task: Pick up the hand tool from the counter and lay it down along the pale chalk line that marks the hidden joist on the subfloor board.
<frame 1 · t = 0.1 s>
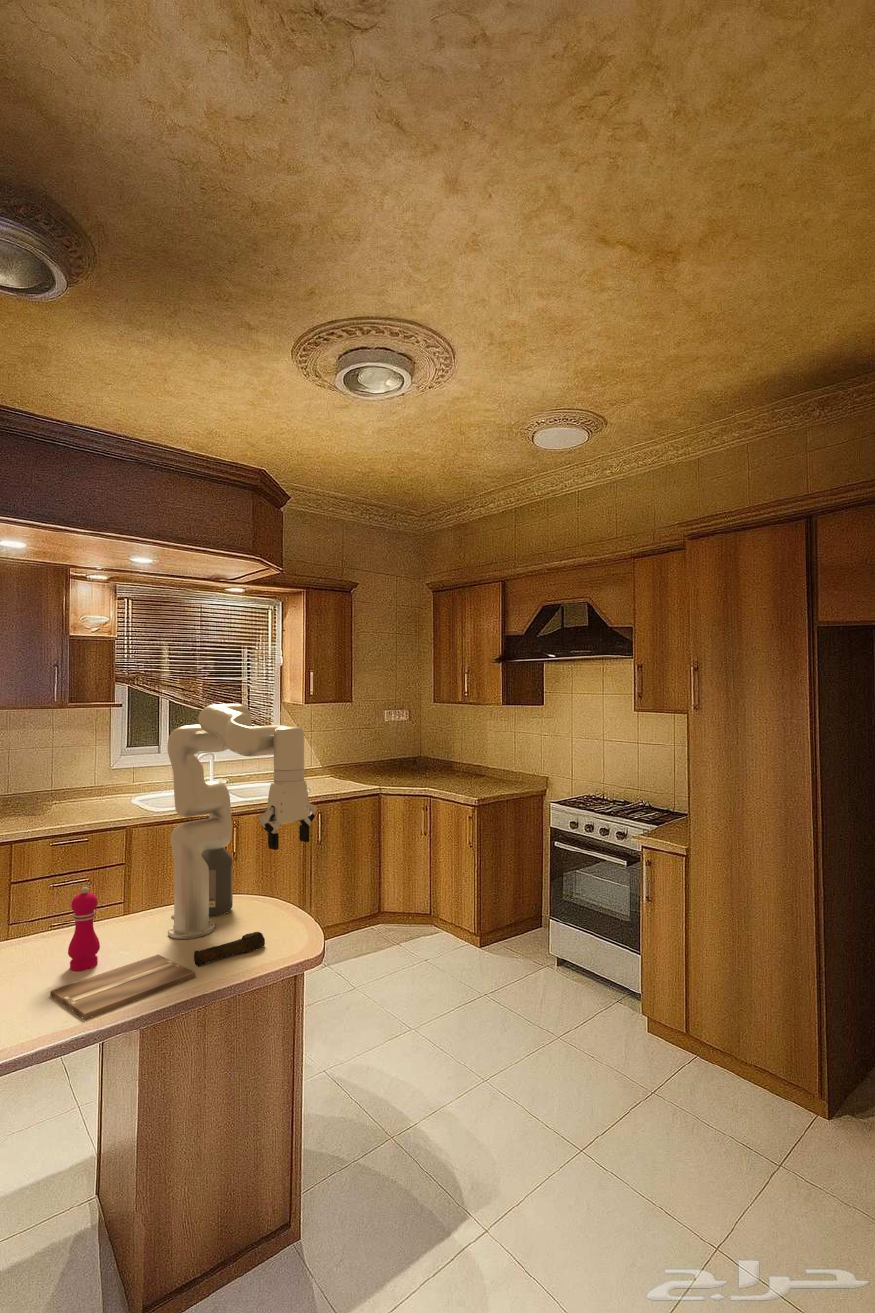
hand: (289, 845, 165), 31 cm above the worktop, tool pointing down, fingers open, 9 cm apart
pepper mill: (83, 967, 169), on the worktop
subfloor board: (125, 986, 157), on the worktop
hand tool: (230, 957, 175), on the worktop
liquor: (215, 912, 209), on the worktop
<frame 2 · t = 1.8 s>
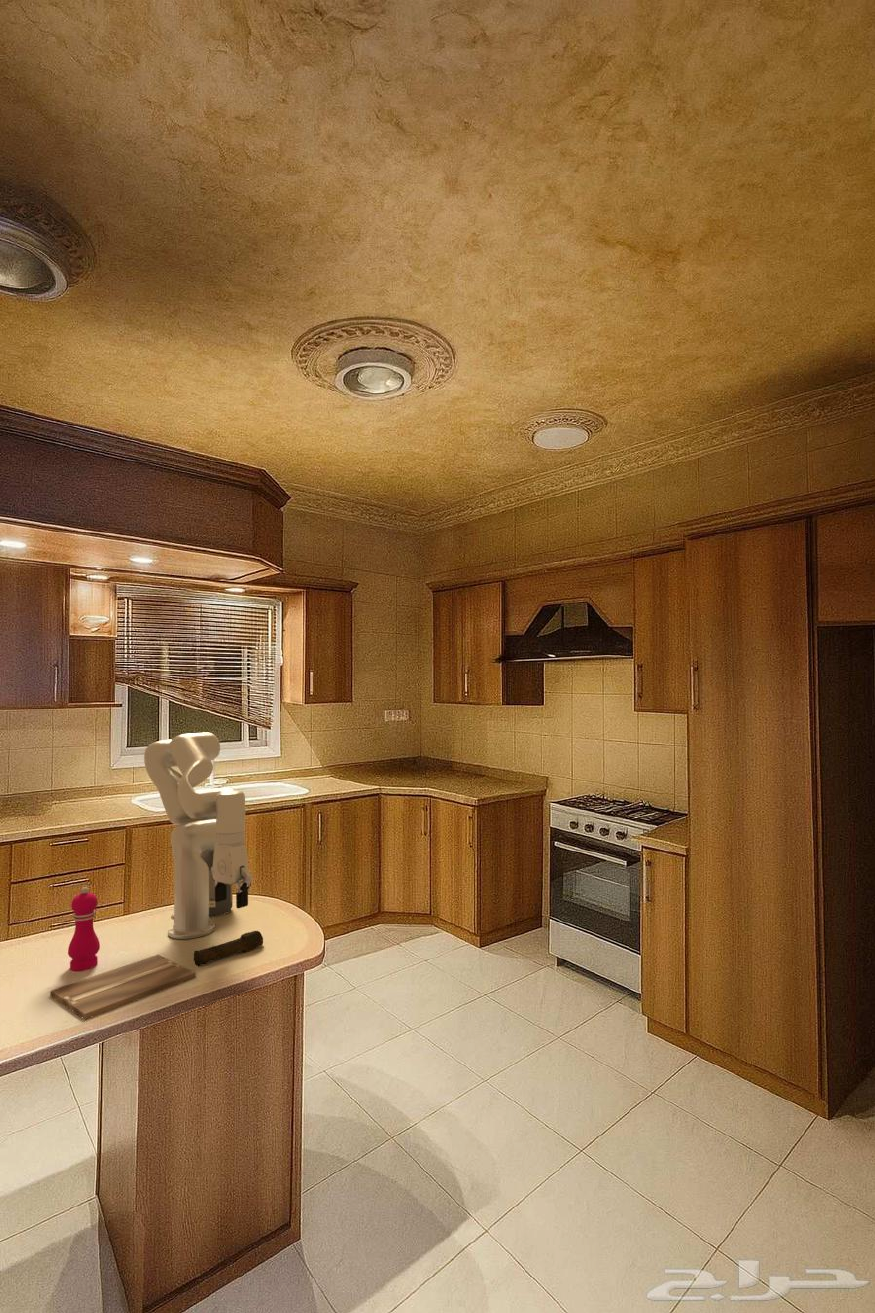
hand: (231, 903, 175), 14 cm above the worktop, tool pointing down, fingers open, 9 cm apart
nothing on the worktop moved.
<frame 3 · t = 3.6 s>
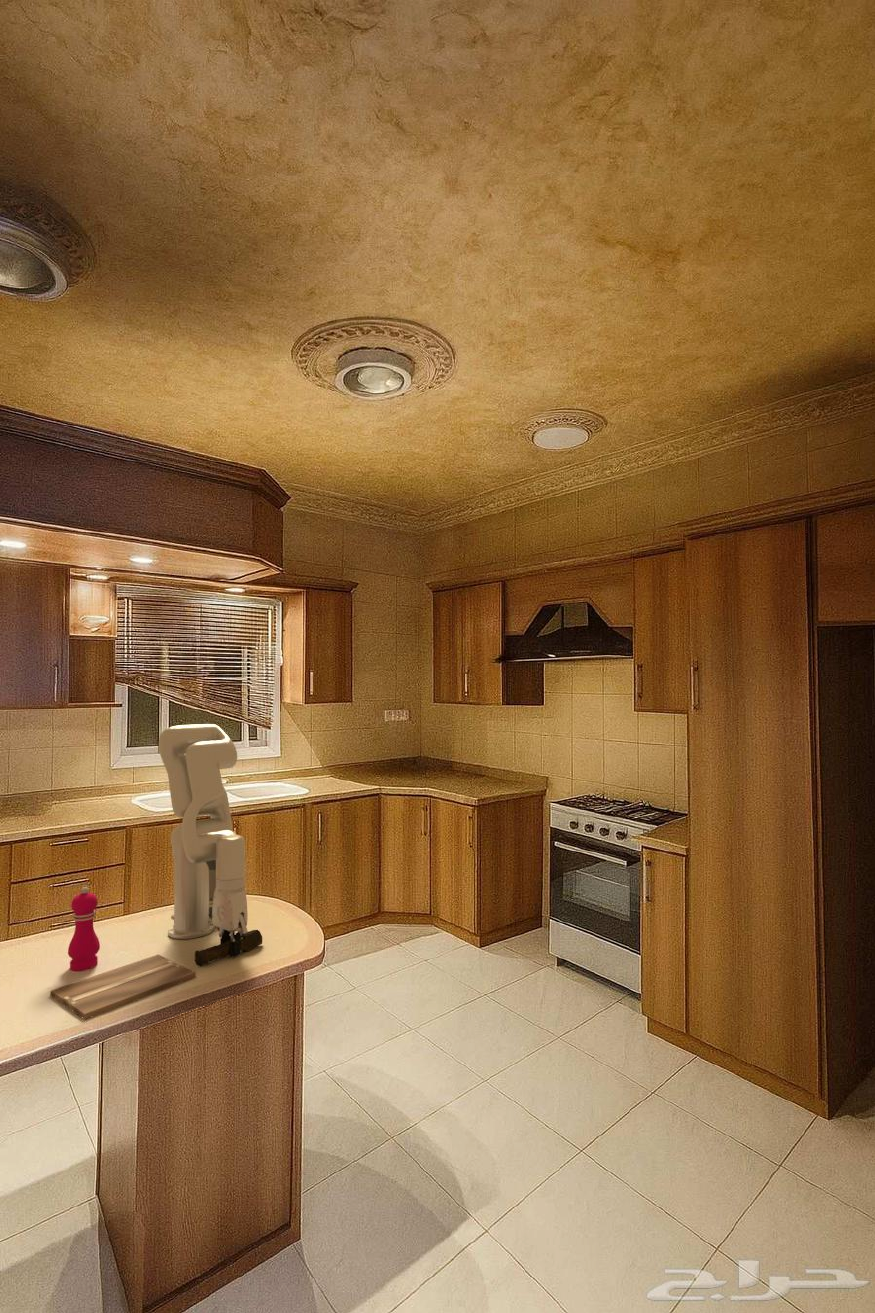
hand: (230, 953, 175), 1 cm above the worktop, tool pointing down, fingers closed on hand tool, 3 cm apart
hand tool: (229, 955, 175), on the worktop, touching gripper
everything else where it was.
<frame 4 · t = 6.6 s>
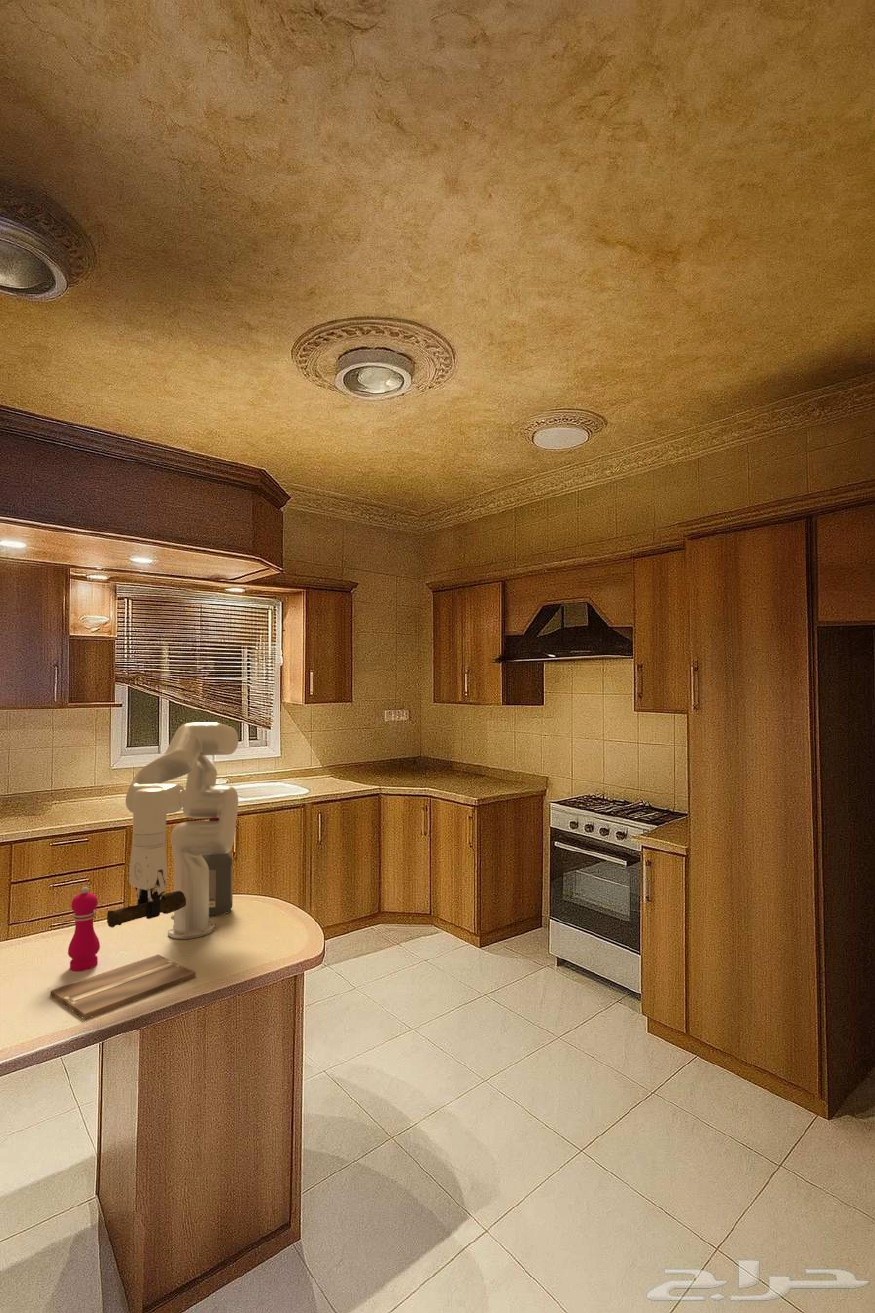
hand: (148, 915, 161), 16 cm above the worktop, tool pointing down, fingers closed on hand tool, 3 cm apart
hand tool: (147, 917, 161), point 15 cm above the worktop, touching gripper
everything else where it was.
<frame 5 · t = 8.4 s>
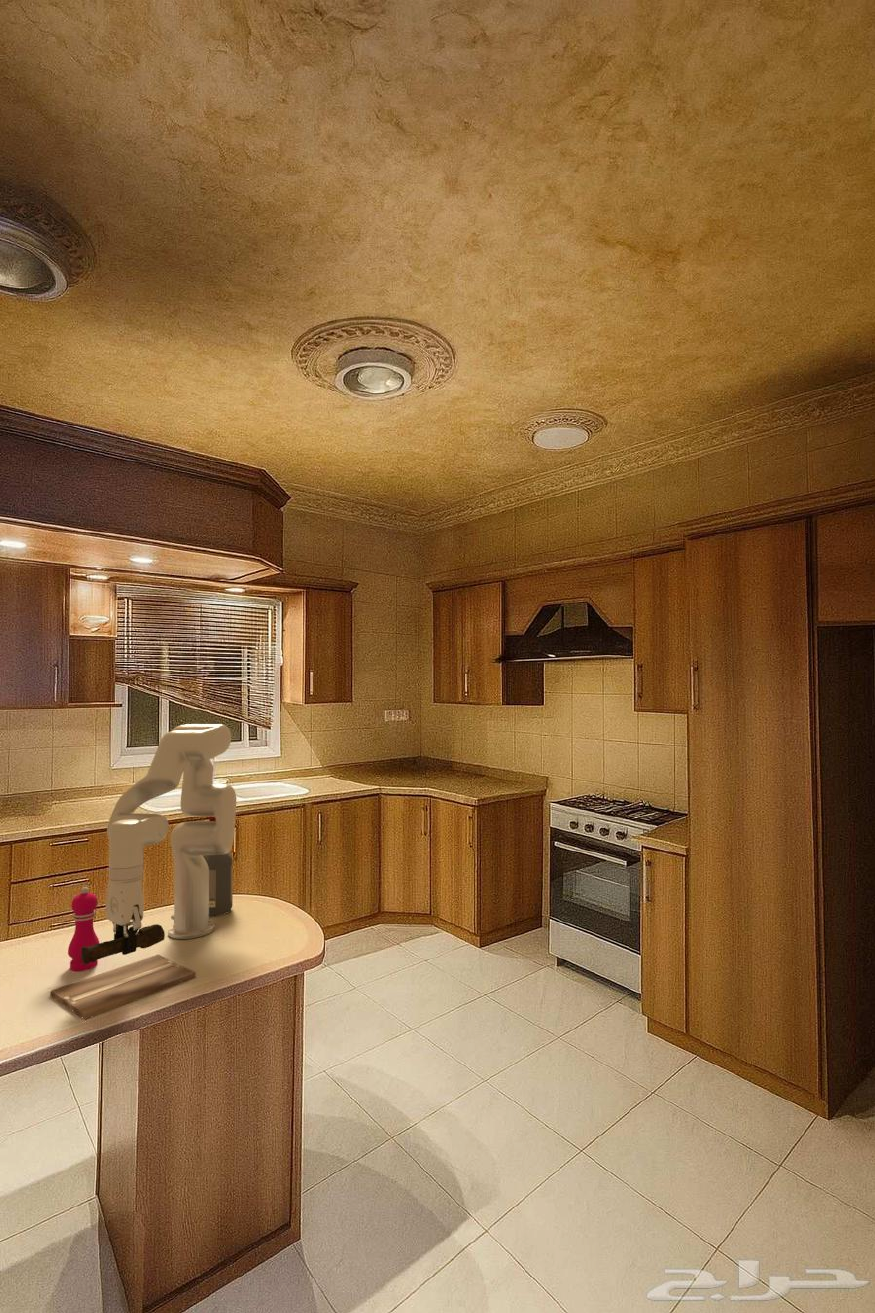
hand: (125, 950, 157), 9 cm above the worktop, tool pointing down, fingers closed on hand tool, 3 cm apart
hand tool: (124, 953, 158), point 8 cm above the worktop, touching gripper
everything else where it was.
when the fingers open (3 cm above the worktop, at t = 10.0 s): hand tool drops 1 cm, resting on subfloor board.
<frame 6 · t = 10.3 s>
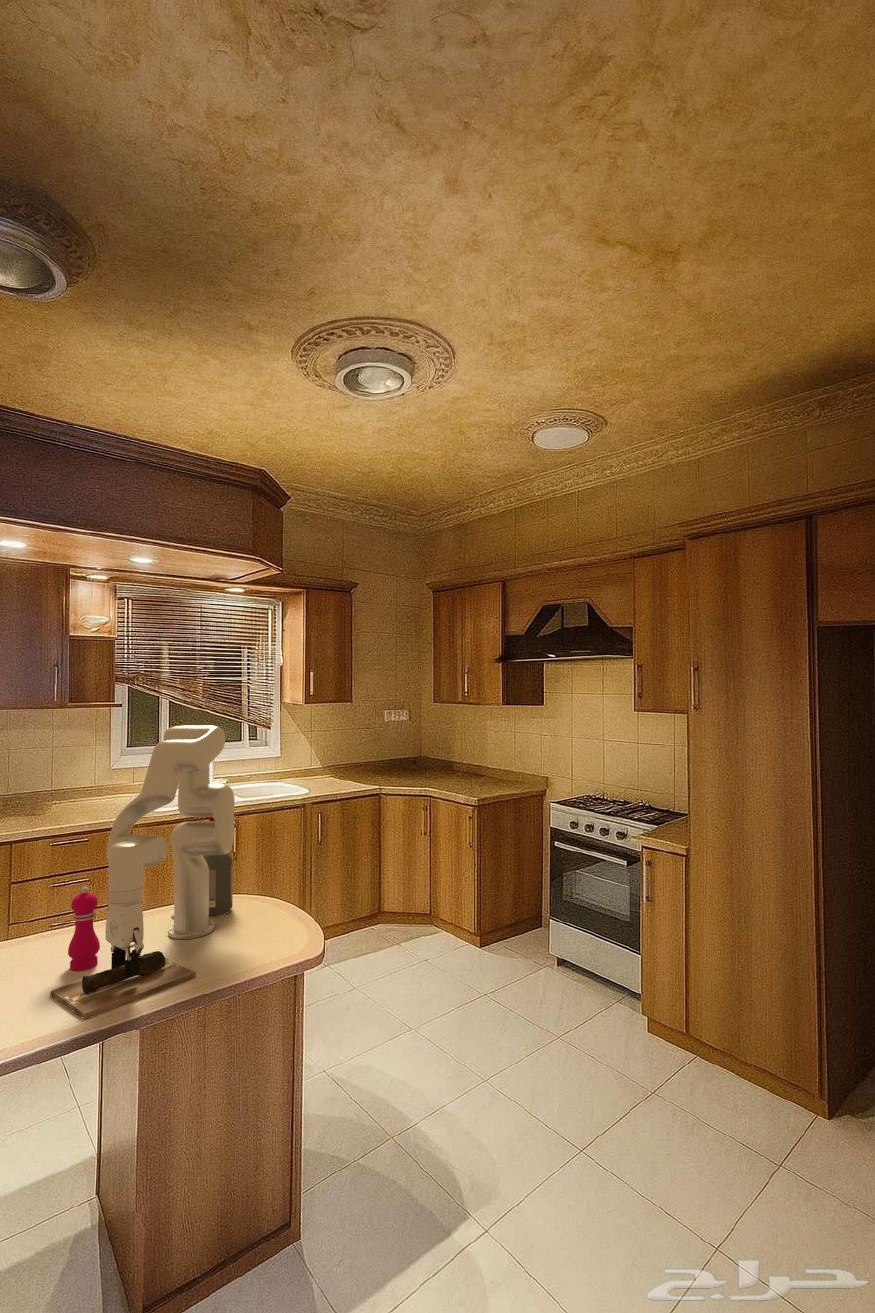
hand: (125, 971, 157), 4 cm above the worktop, tool pointing down, fingers open, 6 cm apart
hand tool: (124, 980, 158), point 1 cm above the worktop, touching subfloor board
everything else where it was.
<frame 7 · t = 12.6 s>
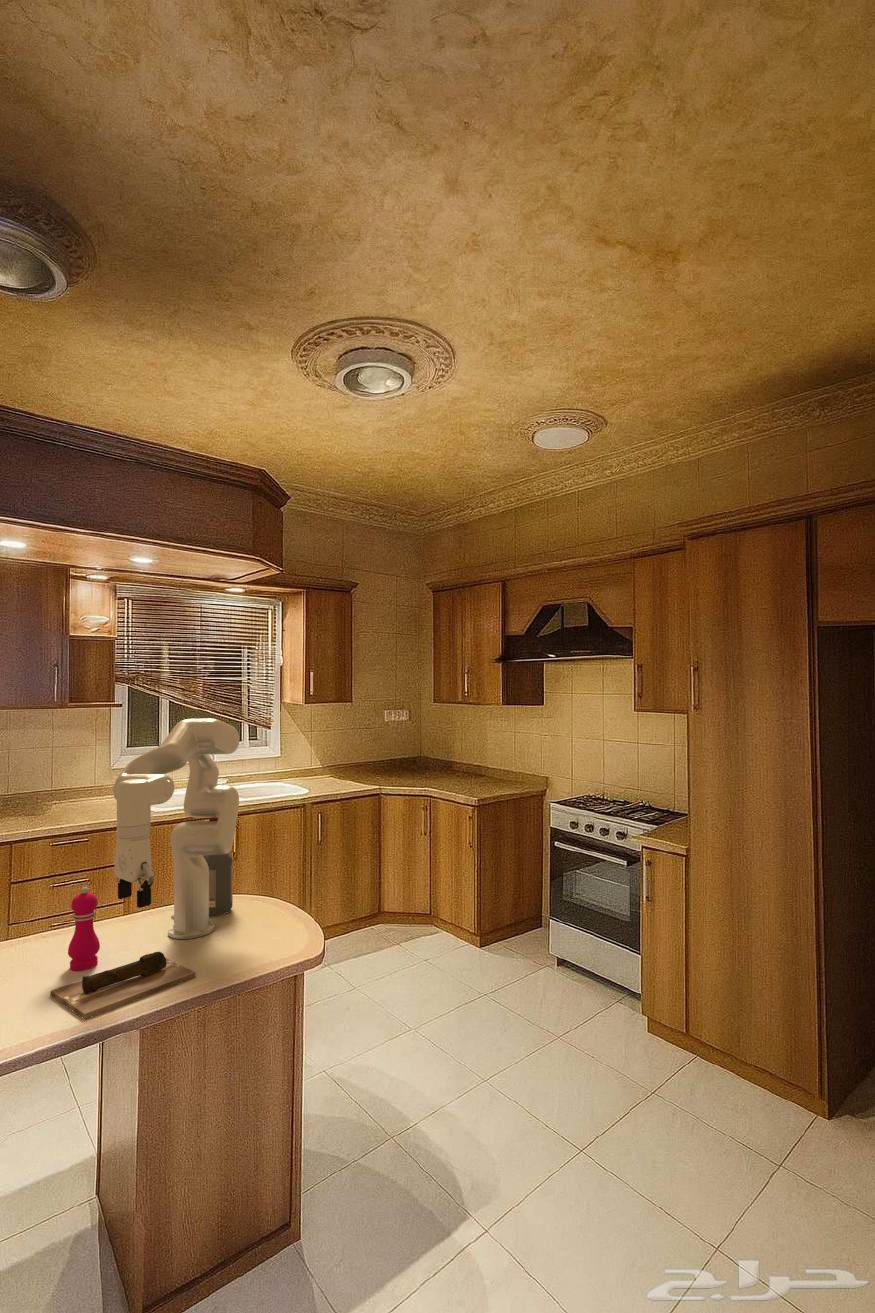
hand: (134, 901, 160), 19 cm above the worktop, tool pointing down, fingers open, 9 cm apart
nothing on the worktop moved.
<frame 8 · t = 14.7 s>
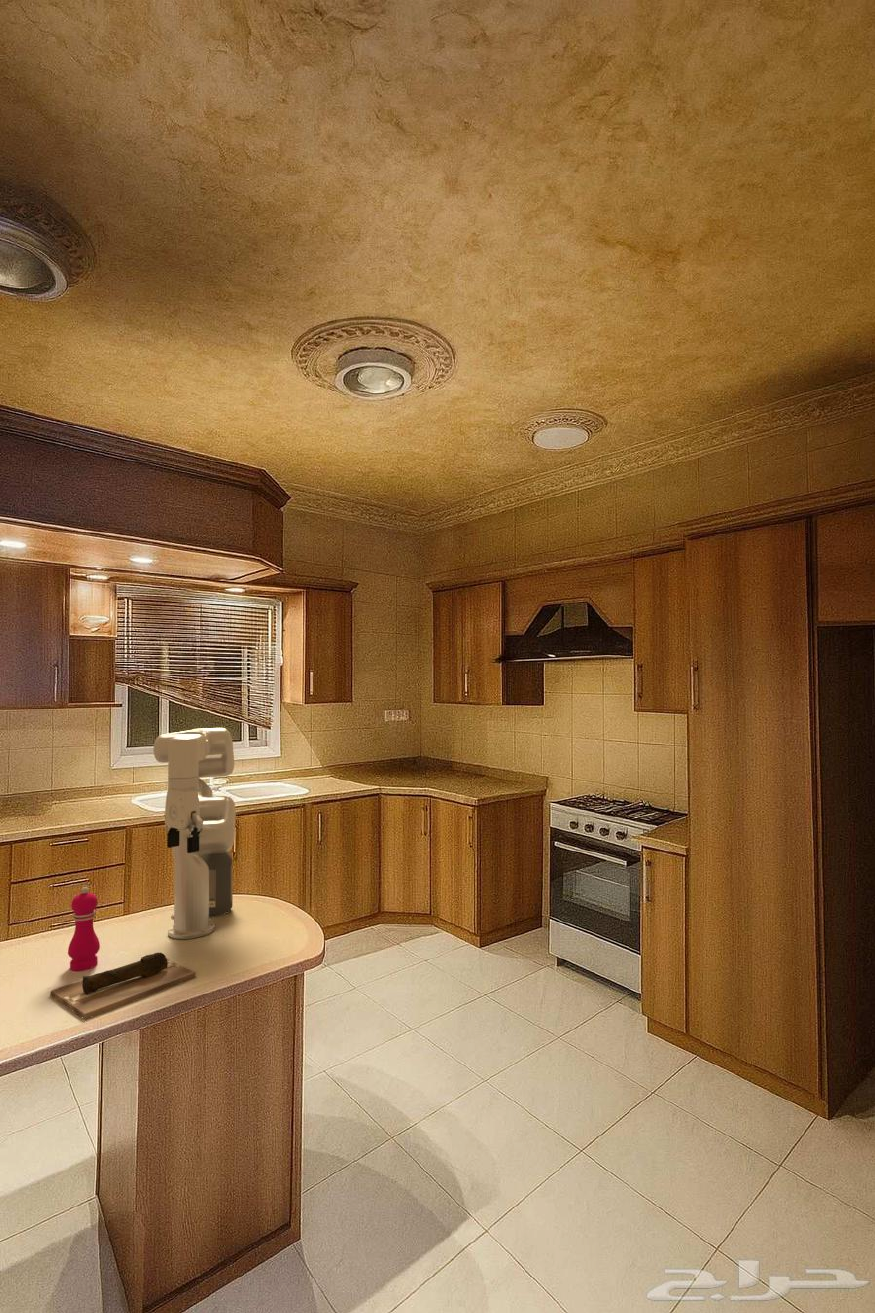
hand: (183, 849, 174), 28 cm above the worktop, tool pointing down, fingers open, 9 cm apart
nothing on the worktop moved.
at the end: hand tool inside the target area on the subfloor board (0.2 cm from its centre), point 1.1 cm above the subfloor board's base; hand tool touching subfloor board; the gripper is holding nothing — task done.
